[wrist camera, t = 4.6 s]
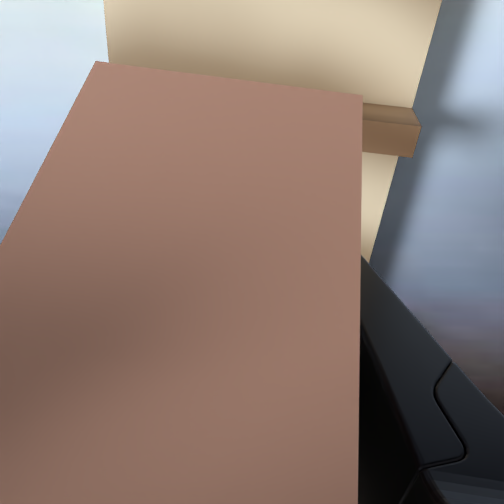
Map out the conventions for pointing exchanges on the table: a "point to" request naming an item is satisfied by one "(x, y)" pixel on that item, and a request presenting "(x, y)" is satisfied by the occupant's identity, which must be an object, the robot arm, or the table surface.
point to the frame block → (186, 298)
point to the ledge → (297, 61)
